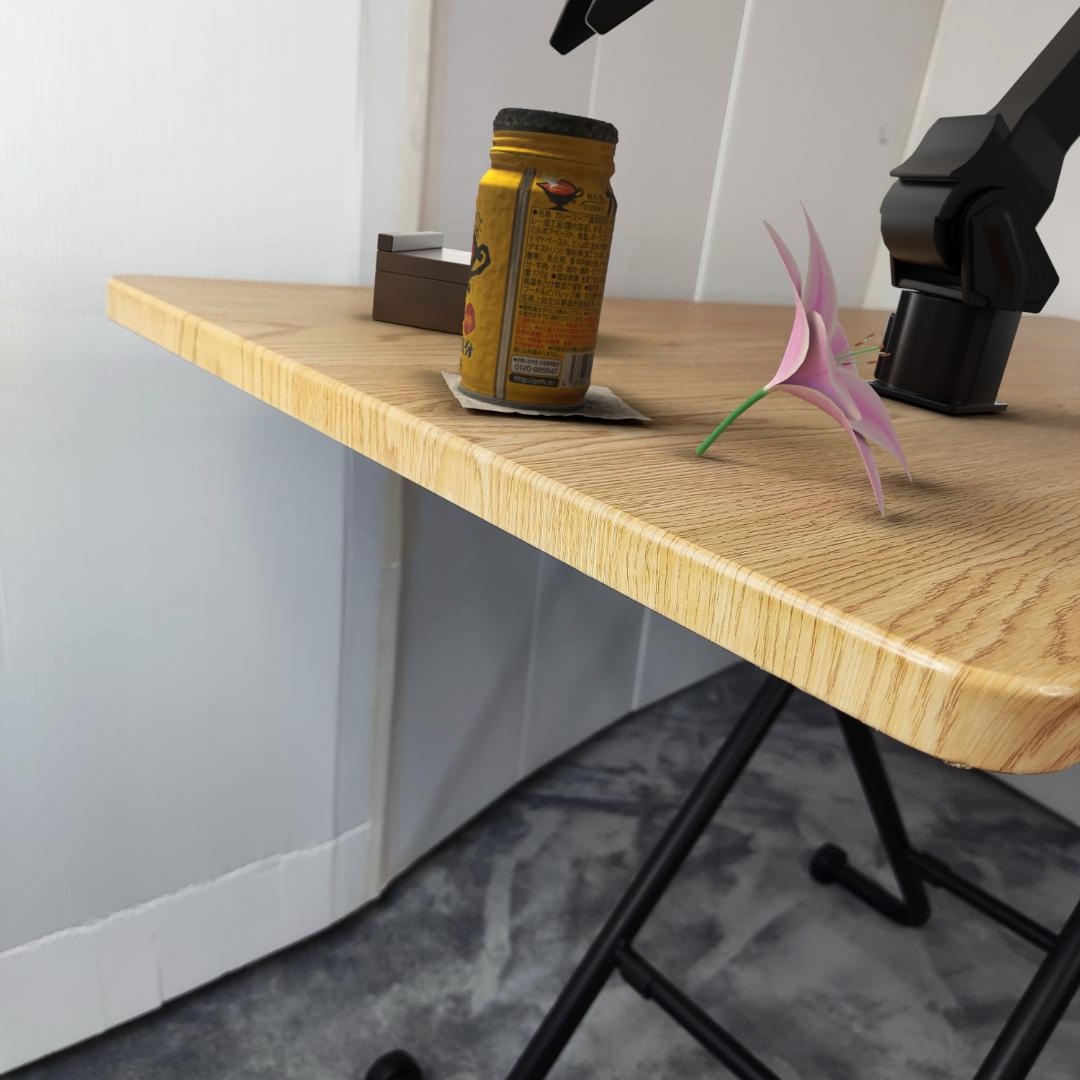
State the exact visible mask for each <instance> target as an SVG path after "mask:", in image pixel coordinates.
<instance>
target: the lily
mask: <svg viewBox="0 0 1080 1080" xmlns="http://www.w3.org/2000/svg"><path fill="white" fill-rule="evenodd" d="M799 203H800V207H801V210H802V213H803V216H804V219H805V224H806V226H807V232H808V241H809V252H808V254H809V255H808V265H807V272H806V278H805V285H804V291H803V280H802V277H801V272H800V268H799V266H798V263H797V262H796V259H795V257H794V255H793V253H792V251H790V249H789V247H788V246H787V244H786V243H785V241H784V240H783V239H782V237H781V236H780V235H779V233H778V232H777V231H776V230H775V228H774V227H773V226H772V225H771V224H770V223H769V222H768V221H767V220H763V219H762V222H763V224H764V226H765V229H766V230H767V233H768V235H769V237H770V239H771V241H772V243H773V245H774V248H775V249H776V251H777V254H778V256H779V257H780V260H781V262H782V264H783V267H784V270H785V271H786V273H787V276H788V278H789V281H790V283H791V284H790V285H791V286H792V289H793V290H792V291H793V294H794V302H795V317H794V322H793V327H792V330H791V334H790V337H789V340H788V343H787V347H786V350H785V352H784V355H783V358H782V361H781V363H780V365H779V368H778V369H777V372H776V374H775V376H774V377H773V378H772V380H771V381H770V382H769V383H767V384H766V385H764V387H762V388H760V389H759V390H758V391H757V392H755V393H754V394H752V395H751V396H749V398H747V399H746V400H744V401H743V402H742V403H741V404H739V405H738V406H737V407H736V408H735V409H734V410H733V411H732V412H731V413H730V414H729V415H728V416H727V417H726V418H725V419H724V420H722V421H721V423H719V425H718V426H717V427H716V428H715V429H714V430H713V431H712V432H711V434H710V435H708V437H707V438H706V439H705V440H704V441H703V442H702V443H701V444H700V446H698V448H697V449H696V450H695V453H696V454H697V455H698V456H700V457H702V455H704V453H705V452H707V450H708V449H709V448H710V447H711V446H712V445H713V443H715V441H716V440H717V439H718V438H719V437H720V436H721V435H722V434H723V433H724V432H725V431H726V430H727V429H728V428H729V426H731V425H732V424H733V423H734V422H735V420H737V418H739V417H740V416H741V415H742V414H744V412H746V411H747V410H748V409H750V408H751V407H752V406H753V405H754V404H756V403H758V402H759V401H760V400H762V399H764V398H765V397H766V396H768V395H769V394H772V393H775V392H784V393H787V394H790V395H792V396H793V397H797V398H798V399H800V400H803V401H804V402H807V403H809V404H811V405H813V406H814V407H816V408H818V409H819V410H821V411H823V412H824V413H826V414H827V415H828V416H830V417H831V418H832V419H833V420H835V421H836V422H837V423H838V424H839V425H840V426H841V427H842V428H843V429H844V430H845V431H846V432H847V435H849V437H850V438H851V439H852V441H853V442H854V444H855V446H856V448H857V450H858V452H859V454H860V457H861V459H862V461H863V463H864V467H865V470H866V472H867V475H868V478H869V481H870V483H871V487H872V490H873V492H874V495H875V499H876V502H877V504H878V507H879V511H880V513H881V517H882V518H884V517H885V502H884V501H885V500H884V495H883V486H882V483H881V478H880V472H879V468H878V464H877V461H876V459H875V456H874V455H875V454H874V452H873V450H872V449H871V447H870V445H869V443H868V441H867V439H869V440H870V441H872V442H873V443H875V444H877V445H878V446H880V447H881V448H882V449H884V450H886V451H887V452H888V453H890V455H892V456H893V458H895V459H896V460H897V461H898V462H899V463H900V465H901V466H902V467H903V469H904V470H905V473H906V474H907V476H908V479H909V480H910V481H911V483H913V480H912V476H911V472H910V469H909V465H908V461H907V458H906V455H905V452H904V449H903V447H902V444H901V440H900V439H899V435H898V433H897V430H896V428H895V425H894V423H893V420H892V419H891V415H890V414H889V411H888V410H887V408H886V406H885V404H884V403H883V401H882V399H881V398H880V396H879V393H878V392H875V391H874V390H873V388H872V387H871V386H870V385H869V384H868V383H867V381H866V380H867V379H865V378H863V377H861V376H860V375H859V369H858V364H860V363H867V364H868V365H872V364H876V363H877V360H872V359H866V360H858V361H857V360H856V359H860V358H863V357H867V356H871V355H879V354H882V355H881V356H889V355H890V353H888V354H885V353H884V352H880V351H879V352H873V351H876V350H880V349H883V347H884V346H883V345H882V343H880V344H879V345H876V346H872V347H868V348H864V349H860V350H856V351H853V350H854V349H856V348H857V347H859V346H861V345H863V344H864V343H866V342H868V341H869V340H871V338H872V337H873V336H875V332H873V333H871V334H869V335H868V336H866V337H865V340H863V341H859V342H857V343H855V344H854V345H853V346H852V347H851V346H850V343H849V341H848V338H847V335H846V332H845V328H843V326H842V324H841V322H840V321H839V320H838V316H839V303H838V302H839V301H838V291H837V286H836V283H835V278H834V274H833V270H832V267H831V265H830V262H829V259H828V257H827V254H826V251H825V249H824V246H823V243H822V241H821V239H820V237H819V235H818V232H817V230H816V228H815V226H814V224H813V221H812V220H811V217H810V216H809V214H808V212H807V210H806V207H805V206H804V204H803V202H802V201H801V199H799ZM802 294H803V295H802ZM869 352H870V353H869ZM864 353H866V354H864ZM860 354H861V355H860ZM856 355H857V356H856ZM865 437H866V438H865Z"/></svg>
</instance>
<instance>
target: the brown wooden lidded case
mask: <svg viewBox="0 0 1080 1080" xmlns="http://www.w3.org/2000/svg"><path fill="white" fill-rule="evenodd" d="M444 239H445V233H444V232H441V231H431V230H430V231H429V230H428V231H405V232H381V233H378V234H377V244H376V246H377V247H376V257H375V271H374V283H373V284H374V286H373V298H372V299H373V300H372V313H371V319H372V320H373V321H380V322H385V323H393V324H398V325H403V326H409V327H415V328H421V329H426V330H427V329H428V330H432V331H439V332H443V333H450V334H456V335H462V336H463V321H464V319H465V306H466V296H467V290H468V279H469V268H470V261H471V253H472V251H465V250H459V249H454V248H453V249H452V248H447V247H446V248H445V247H444Z"/></svg>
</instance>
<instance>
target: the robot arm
mask: <svg viewBox="0 0 1080 1080" xmlns="http://www.w3.org/2000/svg"><path fill="white" fill-rule="evenodd" d="M653 2H655V0H565V1H564V4H563V6H562V9H561V11H560V13H559V16H558V18H557V21H556V23H555V25H554V28H553V30H552V32H551V34H550V38H549V40H548V44H549V46H550V47H551V48H552V50H554V51H555V52H556V53H557V54H559V56H562V57H565V56H567V55H568V54H569V53H571V52H572V51H574V50H575V49H576V48H578V47H580V46H581V45H582V44H584V43H585V42H586V41H588V40H590V39H591V38H592V37H593V36H595V35H596V34H597V35H598V36H605V35H607V34H608V33H610V32H611V31H612V30H614V29H615V28H617V27H618V26H620V25H621V24H623V23H624V22H625V21H627V20H628V19H629V18H631V17H633V16H634V15H635V14H637V13H639V12H640V11H642V10H643V9H644V8H646V7H647V6H649V5H650V4H651V3H653ZM1001 97H1002V98H1001V99H1000V100H999V101H998V102H997V103H996V104H995V105H994V106H993V107H992V108H990V110H989V111H987V112H986V113H982V114H981V113H980V114H967V115H955V116H954V115H953V116H943V117H938V118H937V119H936V120H935V122H933V123H932V125H931V126H930V127H929V128H928V130H927V131H926V132H925V134H924V136H923V137H922V139H921V141H920V142H919V143H918V145H917V147H916V148H915V150H914V151H913V152H912V154H911V155H910V156H908V158H907V159H905V161H903V162H902V163H901V164H899V165H898V166H896V167H894V168H892V169H891V170H889V172H888V174H889V177H890V178H896V180H895V181H894V182H893V183H892V184H891V186H890V187H889V189H888V190H887V192H886V194H885V195H884V197H883V198H882V201H881V205H880V207H879V214H880V229H879V230H880V233H881V239H882V241H883V245H884V247H886V249H887V250H888V253H889V254H888V255H889V268H890V269H889V270H890V282H891V283H890V284H891V286H892V288H897V289H901V290H900V293H899V298H898V302H897V305H896V310H895V311H894V312H891V313H890V314H889V315H888V316H887V317H888V318H887V321H886V325H885V329H884V332H883V336H882V340H881V344H882V345H883V346H884V347H883V349H879V352H884V353H885V354H888V353H890V355H889V356H881V355H882V354H878V356H877V360H876V361H877V363H875V368H874V371H873V377H874V379H865V380H866V381H867V383H868V384H869V385H870V386H871V387H872V388H873V390H874V391H875V392H876V393H877V394H882V395H886V396H889V397H893V398H896V399H899V400H903V401H907V402H910V403H913V404H917V405H920V406H924V407H928V408H931V409H935V410H937V411H941V412H946V413H949V414H969V413H971V414H972V413H988V412H989V413H991V412H1006V411H1007V410H1008V406H1009V403H1007V402H1004V401H1001V400H997V398H998V394H999V390H1000V387H1001V385H1002V381H1003V378H1004V374H1005V371H1006V368H1007V365H1008V361H1009V358H1010V355H1011V351H1012V349H1013V345H1014V342H1015V339H1016V335H1017V332H1018V328H1019V326H1020V322H1021V319H1022V316H1023V313H1028V314H1034V315H1038V314H1040V313H1041V312H1042V311H1043V309H1044V307H1045V306H1046V304H1047V303H1048V301H1050V298H1051V296H1052V295H1053V293H1054V292H1055V290H1056V289H1057V287H1058V286H1059V283H1060V276H1059V274H1058V271H1057V269H1056V268H1055V266H1054V264H1053V262H1052V260H1051V257H1050V255H1049V253H1048V251H1047V249H1046V247H1045V245H1044V243H1043V241H1042V239H1041V237H1040V234H1039V233H1038V231H1037V229H1036V228H1037V227H1038V225H1039V224H1040V223H1041V221H1042V220H1043V218H1044V216H1045V215H1046V213H1047V212H1048V210H1049V209H1050V208H1051V206H1052V204H1053V202H1054V201H1055V197H1056V193H1057V189H1058V185H1059V181H1060V177H1061V174H1062V169H1063V165H1064V161H1065V158H1066V156H1067V154H1068V152H1069V151H1070V150H1071V148H1072V147H1073V145H1074V144H1075V143H1076V142H1077V141H1078V139H1080V6H1079V7H1078V8H1077V9H1076V10H1075V11H1074V13H1073V14H1072V15H1071V16H1070V17H1069V19H1068V20H1066V22H1065V23H1064V24H1063V26H1061V28H1060V29H1059V30H1058V31H1057V33H1056V34H1055V35H1054V36H1053V37H1052V38H1051V39H1050V40H1049V42H1048V43H1047V44H1046V46H1045V47H1044V48H1043V49H1042V50H1041V51H1040V53H1038V55H1037V56H1036V57H1035V59H1034V60H1033V61H1032V62H1030V64H1029V66H1027V68H1026V69H1025V70H1024V71H1023V72H1022V73H1021V75H1020V76H1019V77H1018V79H1016V81H1015V82H1014V83H1013V84H1012V85H1011V87H1010V88H1009V89H1008V90H1007V91H1006V92H1005V94H1004V95H1003V96H1001Z"/></svg>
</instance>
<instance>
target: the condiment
mask: <svg viewBox="0 0 1080 1080" xmlns="http://www.w3.org/2000/svg"><path fill="white" fill-rule="evenodd" d="M492 134H493V138H492V140H491V142H492V147H491V148H490V150H489V158H490V160H491V163H490V169H488V170H487V171H486V172H485V174H483V176H482V179H480V181H479V183H478V191H477V196H476V198H475V209H476V210H475V213H474V225H473V232H472V233H473V234H472V242H471V252H472V253H471V261H470V268H469V279H468V290H467V296H466V306H465V319H464V321H463V335H462V340H461V349H460V358H459V359H460V360H459V369H458V373H459V374H454V373H449V372H446V371H444V370H440V373H441V375H442V376H443V379H444V381H445V383H446V385H447V386H448V389H449V390H450V392H451V393H452V394H453V396H454V397H455V399H457V400H458V402H459V403H460V405H461V408H468V409H478V410H485V411H495V412H503V413H515V412H516V413H519V414H522V415H523V414H524V415H534V416H535V415H536V416H538V415H543V416H549V417H550V416H563V417H568V416H583V417H588V418H601V419H605V420H606V419H608V420H624V419H636V420H644V421H653V419H651V418H650V417H649V416H645V415H643V414H642V413H640V412H639V411H638V410H635V409H633V408H632V407H631V406H630V405H629V404H627V403H626V402H624V401H623V400H622V398H620V397H619V396H618V395H616V394H614V392H613V391H612V390H611V389H609V388H608V387H607V386H600V385H599V386H597V385H595V384H591V381H592V372H593V366H594V358H595V352H596V347H597V341H598V340H597V339H598V334H599V326H600V321H601V315H602V309H603V308H602V307H603V303H604V302H603V301H604V294H605V287H606V281H607V275H608V270H609V269H608V268H609V261H610V257H611V250H612V243H613V236H614V231H615V225H616V218H617V212H618V207H619V206H618V201H617V198H616V196H615V193H614V189H613V187H612V185H611V178H612V177H613V176H614V175H615V174H616V164H615V158H614V157H615V156H616V150H617V145H618V143H619V130H618V128H617V127H615V125H614V124H613V123H611V122H607V121H606V120H600V119H598V118H597V119H596V118H591V117H588V116H582V115H576V114H569V113H564V112H558V111H552V110H551V111H550V110H545V109H544V110H543V109H534V108H533V109H532V108H522V107H503V108H501V109H500V110H498V112H497V114H496V115H495V118H494V120H493V122H492Z"/></svg>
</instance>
